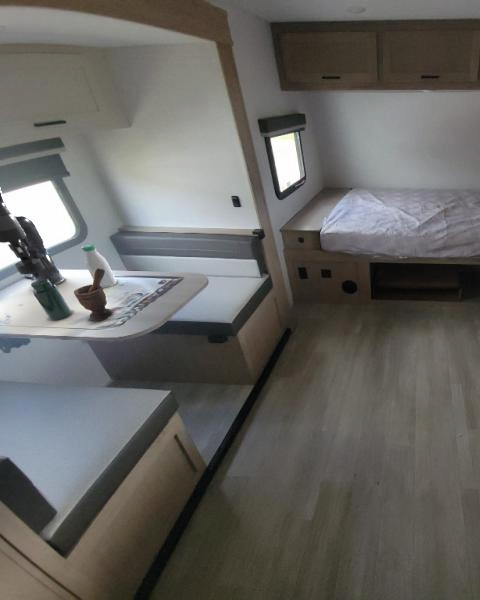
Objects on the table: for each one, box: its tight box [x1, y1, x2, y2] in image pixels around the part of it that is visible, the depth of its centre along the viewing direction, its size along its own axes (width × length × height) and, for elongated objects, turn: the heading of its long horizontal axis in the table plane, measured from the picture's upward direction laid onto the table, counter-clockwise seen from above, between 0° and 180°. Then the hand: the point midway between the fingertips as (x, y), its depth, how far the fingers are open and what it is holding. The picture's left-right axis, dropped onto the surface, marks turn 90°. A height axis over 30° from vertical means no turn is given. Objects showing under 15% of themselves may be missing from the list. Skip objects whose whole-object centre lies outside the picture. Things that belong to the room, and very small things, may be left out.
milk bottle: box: [81, 244, 117, 289], centre depth 156 cm, size 8×8×20 cm
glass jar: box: [30, 279, 73, 321], centre depth 135 cm, size 7×7×16 cm
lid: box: [14, 259, 45, 275], centre depth 127 cm, size 7×7×3 cm
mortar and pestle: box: [73, 268, 113, 322], centre depth 135 cm, size 12×9×20 cm
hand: (31, 268), depth 127 cm, fingers closed on lid, 7 cm apart
